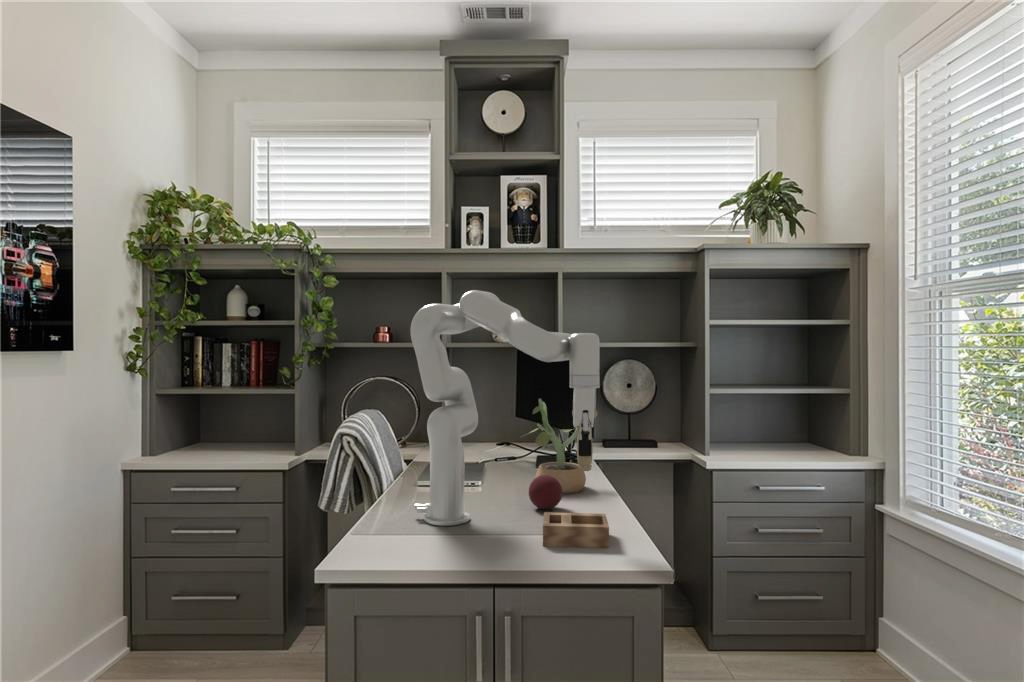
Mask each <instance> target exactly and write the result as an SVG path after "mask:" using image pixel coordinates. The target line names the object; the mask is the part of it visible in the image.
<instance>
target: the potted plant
mask: <svg viewBox="0 0 1024 682" xmlns="http://www.w3.org/2000/svg"><path fill="white" fill-rule="evenodd" d="M537 402H538V406H535V407H534V409H533V410H532V415H535V414H537V413H538V412H540V414H541V420H542V421H541V422H542V425H543V426H542V425H541V424H540V423H537V424H536V426H537V427H538V428H537V427H536V428H535V429H533V430H531V431H530V432H528V433H524V434H522V435H520V436H519V437H518V438H523V437H525V436H527V435H529V434H531V433H534V432H536V431H537V430H539V429H540V430H541V432H540V433H539V434H538V435H537V436H536V437H535V441H534V442H535V443H536V445H537V446H539V447H540V448H541V447H542V448H546V449H547V448H548V444H549V442H550V441H551V442H552V444H553V447H554V450H555V453H556V461H550V462H545V463H541V464H539V465H538V468H537V471H536V473H535V478H536V477H538V476H541V475H549V476H552V477H554V478H555V479H557V480H558V481H559V483H560V485H561V487H562V495H563V494H564V495H569V494H575V493H579V492H580V491H582V490H583V489H584V488H585V485H586V480H587V477H586V472H585V471H581V470H579V469H578V465H579V463H574V462H566V456H565V451H564V450H565V448H567V446H569V445H570V444H571V443H573V441H574V440H575V439H576V438H577V437H578V426H577V428H575V429H574V428H573V429H564V428H562V429H561V430H562V433H563V432H564V433H568V432H571V431H572V430H574V432H573V433H572V435H571V436H570V437H569V438H568V439H566V440H564V442H563V443H562V442H561V441H560V439H559V438H558V436H557V435H556V432H555V430H554V429H553V428H552V427H551V425H550V424H549V419H548V407H547V405H546V403H545V401H543V400H542V398H538V401H537ZM535 478H534V479H535Z"/></svg>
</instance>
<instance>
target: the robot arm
mask: <svg viewBox="0 0 1024 682" xmlns="http://www.w3.org/2000/svg"><path fill="white" fill-rule="evenodd" d="M479 327H481V328H483V329H484V330H487V331H488V332H491V333H493V334H494V335H497V336H499V337H500V338H502V339H504V340H505V342H507V343H509V344H510V345H511V346H512V347H514V348H516V349H517V350H519V351H521V352H523V353H524V354H526V355H529V356H531V357H532V358H534V359H536V360H539V361H541V362H545V363H552V362H553V363H554V362H564V361H569V388H570V389H573V395H572V397H573V399H572V411H573V412H574V413H573V416H572V419H573V420H572V424H573V427H574V429H576V428H577V426H579V429H580V440H579V456H591V455H592V448H593V447H592V445H593V439H592V440H591V428H594V423H595V418H594V411H596V409H595V408H596V406H595V405H596V404H595V403H596V402H595V401H596V394H595V393H596V389H600V387H601V386H600V337H599V335H598V334H596V333H593V332H575V333H567V332H559V331H558V332H556V331H548V330H545V329H544V328H542V327H540V326H537V325H535V324H533V323H532V322H531V321H528V320H527V319H525V318H524V317H523V316H522V314H521V312H520V310H519V309H518V308H515V307H513V306H512V305H509V304H507V303H505V302H503V301H501V300H500V298H499V297H498V296H497V295H496V294H494V293H493V292H489V291H486V290H485V291H483V290H478V289H472V290H469V291H467V292H465V293H464V294H462V296H461V297H460V300H459V301H458V303H456V304H446V303H445V304H444V303H430V304H427V305H424V306H423V307H421V308H420V309H419V310H417V312H416V313H415V314H414V316H413V318H412V321H411V324H410V338H411V343H412V346H413V350H414V352H415V356H416V361H417V365H418V366H417V367H418V371H419V374H420V379H421V383H422V388H423V392H424V394H425V396H426V398H427V399H428V400H430V401H431V402H435V403H436V402H437V403H441V402H444V405H443V406H440V407H439V406H438V408H436V409H434V410H433V411H431V413H430V414H429V415H428V416H429V417H428V418H427V421H426V422H427V423H426V429H427V437H428V442H429V502H428V503H425V504H422V503H415V504H414V511H415V512H417V513H425V514H424V516H423V518H424V522H425V523H427V524H429V525H432V526H440V527H443V526H444V527H446V526H456V525H457V526H458V525H462V524H466V523H467V522H469V521H470V517H471V514H470V513H469V512H466V511H465V450H464V449H465V448H464V446H463V442H462V438H463V437H466V436H468V435H470V434H472V433H474V431H475V430H476V429H477V427H478V424H479V413H478V409H477V404H476V400H475V395H474V392H473V387H472V383H471V381H470V378H469V376H468V375H467V373H466V371H464V370H463V369H461V368H459V367H457V366H451V365H450V362H449V358H448V353H447V350H446V347H445V345H444V343H443V341H442V340H441V337H440V336H441V335H458V334H462V333H465V332H467V331H471V330H473V329H476V328H479ZM581 425H583V427H581ZM588 425H589V427H588ZM592 456H593V455H592Z"/></svg>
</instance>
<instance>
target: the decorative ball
mask: <svg viewBox="0 0 1024 682" xmlns="http://www.w3.org/2000/svg"><path fill="white" fill-rule="evenodd" d="M528 497H529V499H530V500H529V501H530V502H531V503H532V505H533V506H535V507H536V508H538V509H541V510H545V511H546V510H550V509H551V510H552V509H553V508H556V506H558V504H559V503H560V502H561V500H562V498H563V494H562V487H561V485H560V483H559V481H558V480H557V479H555V478H554V477H552V476H549V475H541V476H538V477H536V478H534V479H533V480H532V481H531V482H530V484H529V486H528Z"/></svg>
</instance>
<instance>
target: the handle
mask: <svg viewBox="0 0 1024 682" xmlns="http://www.w3.org/2000/svg"><path fill="white" fill-rule="evenodd" d="M571 413H572V414H571V415H572V417H573V413H574V412H573V410H572V411H571ZM597 417H598V410H595V411H594V419H596V418H597ZM581 427H583V425H581ZM588 427H589V425H588ZM592 428H593V427H592ZM592 428H591V440H592V441H593V432H592V431H593V429H592ZM576 438H577V439H576V457H577V464H579V465H578V469H579V470H581V471H584V472H589V471H591V470H592V462H593V454H594V453H593V452H594V451H593V449H594V448H593V444H592V455H591V456H579V440H580V429H579V426H578V434H577V436H576Z"/></svg>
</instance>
